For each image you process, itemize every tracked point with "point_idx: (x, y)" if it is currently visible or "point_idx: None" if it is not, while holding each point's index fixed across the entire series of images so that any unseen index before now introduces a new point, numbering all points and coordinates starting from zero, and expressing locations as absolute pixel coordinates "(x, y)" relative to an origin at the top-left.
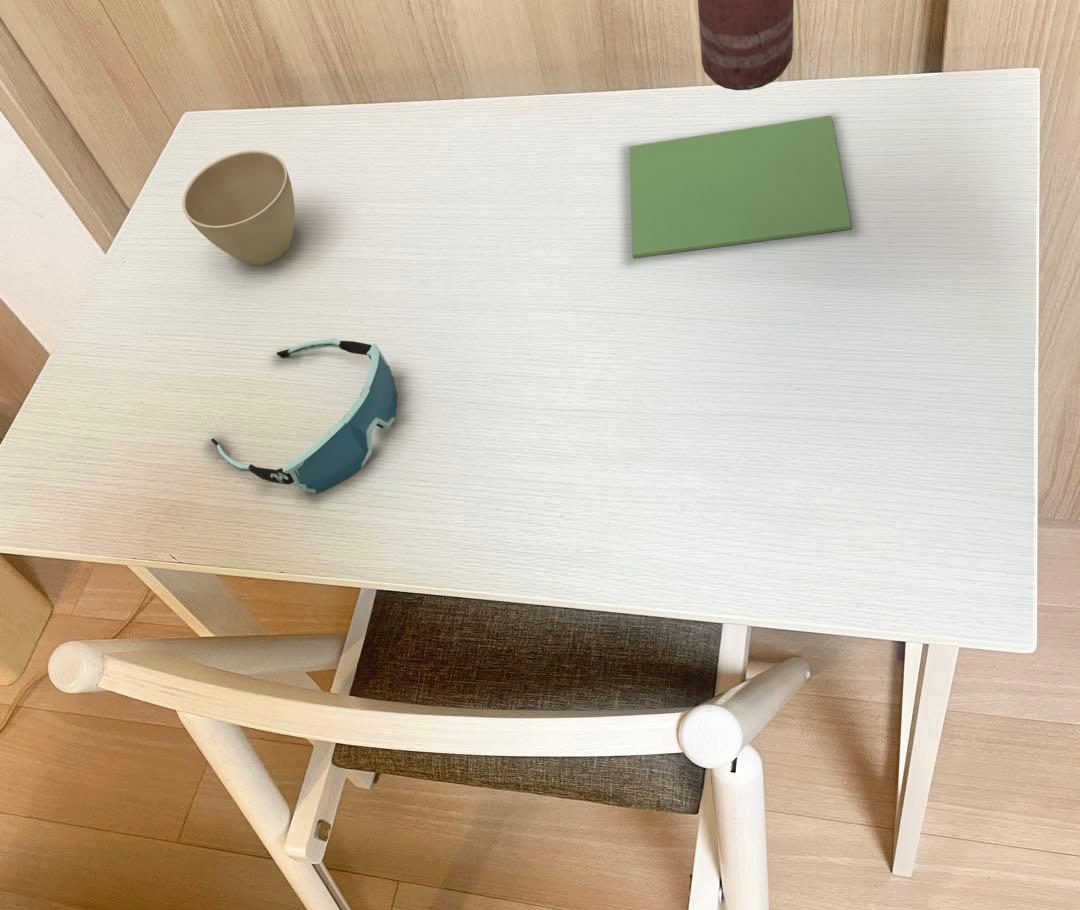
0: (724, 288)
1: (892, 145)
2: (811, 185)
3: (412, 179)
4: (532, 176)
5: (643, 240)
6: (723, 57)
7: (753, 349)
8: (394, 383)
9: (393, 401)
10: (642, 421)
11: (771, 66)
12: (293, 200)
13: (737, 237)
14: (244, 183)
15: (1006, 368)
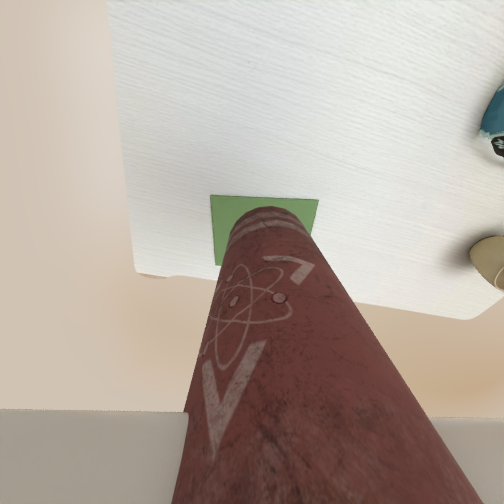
0: (277, 166)
1: (190, 244)
2: (227, 226)
3: (399, 271)
4: (347, 261)
5: (311, 209)
6: (299, 224)
7: (270, 109)
8: (482, 124)
9: (499, 99)
10: (349, 49)
11: (250, 214)
12: (485, 261)
13: (265, 200)
14: (499, 278)
15: (124, 52)
